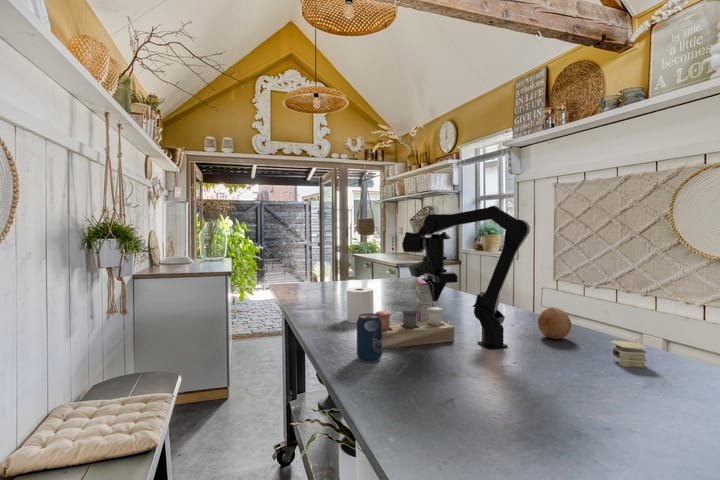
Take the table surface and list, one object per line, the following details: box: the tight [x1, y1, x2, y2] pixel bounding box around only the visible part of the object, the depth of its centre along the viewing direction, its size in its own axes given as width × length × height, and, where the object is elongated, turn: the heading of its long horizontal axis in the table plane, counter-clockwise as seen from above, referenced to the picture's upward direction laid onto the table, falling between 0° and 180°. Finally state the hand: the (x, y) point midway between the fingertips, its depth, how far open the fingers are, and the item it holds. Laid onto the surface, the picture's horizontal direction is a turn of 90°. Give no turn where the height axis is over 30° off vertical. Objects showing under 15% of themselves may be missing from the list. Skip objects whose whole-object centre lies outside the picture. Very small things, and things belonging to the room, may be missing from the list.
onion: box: [537, 306, 572, 340], centre depth 125 cm, size 10×10×10 cm
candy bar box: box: [415, 278, 434, 321], centre depth 142 cm, size 11×5×16 cm, turn 179°
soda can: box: [356, 313, 383, 363], centre depth 108 cm, size 7×7×12 cm
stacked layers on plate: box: [610, 339, 648, 368], centre depth 102 cm, size 10×9×6 cm
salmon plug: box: [374, 310, 392, 331], centre depth 122 cm, size 5×5×6 cm
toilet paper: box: [346, 287, 374, 324], centre depth 151 cm, size 10×10×12 cm
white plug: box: [428, 306, 443, 326], centre depth 127 cm, size 5×5×6 cm
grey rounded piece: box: [401, 308, 417, 329], centre depth 124 cm, size 5×5×6 cm
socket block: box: [382, 320, 455, 350], centre depth 124 cm, size 10×26×4 cm, turn 107°
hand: (434, 301), depth 127 cm, fingers closed
